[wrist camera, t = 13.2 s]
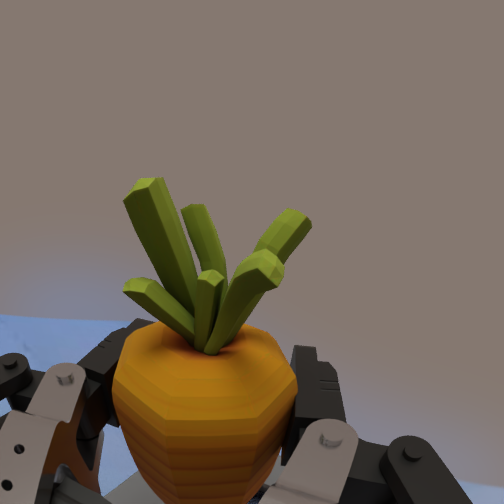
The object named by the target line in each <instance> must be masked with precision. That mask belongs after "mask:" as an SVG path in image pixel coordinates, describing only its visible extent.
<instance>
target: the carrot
mask: <svg viewBox="0 0 504 504" xmlns="http://www.w3.org/2000/svg"><path fill="white" fill-rule="evenodd" d="M123 202H124V204H125V207H126V209H127V212H128V214H129V217H130V219H131V221H132V224H133V227H134V229H135V231H136V233H137V235H138V237H139V239H140V241H141V243H142V245H143V247H144V249H145V251H146V252H147V255H148V257H149V258H150V260H151V262H152V264H153V266H154V268H155V270H156V272H157V274H158V276H159V278H160V280H161V282H162V284H163V286H164V288H165V289H164V288H163V287H162V286H161V285H160V284H159V283H158V282H157V281H155V280H152V279H148V278H144V277H141V278H132V279H130V280H128V281H127V282H126V283H125V285H124V288H123V292H124V293H125V294H126V295H127V296H128V297H130V298H131V299H132V300H133V301H135V302H136V303H137V304H138V305H140V306H141V307H142V308H144V309H145V310H146V311H147V312H149V313H150V314H151V315H152V316H154V317H155V318H157V319H158V320H159V321H158V322H156V323H153V324H151V325H148V326H145V327H143V328H140V329H137V330H135V331H134V332H133V333H132V334H130V335H129V336H128V337H127V338H126V340H125V343H124V346H123V349H122V352H121V355H120V358H119V361H118V364H117V368H116V371H115V374H114V378H113V385H112V397H113V404H114V407H115V410H116V413H117V417H118V420H119V423H120V426H121V429H122V432H123V435H124V437H125V440H126V443H127V446H128V448H129V450H130V453H131V455H132V457H133V459H134V462H135V464H136V466H137V468H138V470H139V472H140V474H141V476H142V478H143V479H144V480H145V482H146V483H147V484H148V485H149V487H150V488H151V489H152V490H153V492H154V493H155V494H156V495H157V496H158V497H159V498H160V499H161V500H162V501H163V502H164V503H165V504H247V503H248V502H249V501H250V500H251V499H252V497H253V496H254V495H255V494H256V493H257V492H258V490H259V489H260V488H261V486H262V485H263V484H264V482H265V481H266V479H267V478H268V477H269V475H270V474H271V472H272V469H273V467H274V465H275V462H276V460H277V457H278V455H279V452H280V450H281V447H282V444H283V440H284V437H285V434H286V430H287V427H288V423H289V420H290V416H291V412H292V409H293V405H294V401H295V396H296V395H297V393H298V386H297V380H296V375H295V374H294V372H293V370H292V368H291V367H290V365H289V363H288V361H287V360H286V358H285V356H284V354H283V353H282V351H281V349H280V347H279V345H278V343H277V342H276V340H275V339H274V338H273V337H272V336H271V335H270V334H269V333H268V332H265V331H263V330H260V329H257V328H255V327H252V326H249V325H247V324H244V323H245V321H246V320H247V318H248V316H249V315H250V314H251V312H252V311H253V309H254V308H255V306H256V305H257V303H258V302H259V300H260V299H261V297H262V296H263V294H264V293H265V292H266V291H269V290H272V289H274V288H277V287H278V286H279V284H280V282H281V281H282V279H283V277H284V269H285V267H284V263H285V262H286V260H287V259H288V257H289V256H290V255H291V253H292V252H293V251H294V250H295V249H296V247H297V246H298V245H299V244H300V242H301V241H302V240H303V239H304V237H305V236H306V235H307V233H308V232H309V230H310V229H311V228H312V224H311V221H310V220H309V218H308V217H307V216H305V215H304V214H302V213H301V212H299V211H297V210H293V209H289V208H287V209H286V210H285V211H284V212H283V213H282V214H281V215H279V217H277V218H276V219H275V220H274V221H273V223H272V224H271V225H270V227H269V228H268V229H267V231H266V232H265V233H264V234H263V236H262V237H261V238H260V239H259V241H258V243H257V245H256V247H255V249H254V251H253V253H252V254H251V255H250V256H248V257H247V258H246V259H244V260H243V261H242V262H241V263H240V265H239V266H238V267H237V269H236V271H235V273H234V275H233V277H232V279H231V281H230V283H229V286H228V280H227V271H226V262H225V257H224V254H223V251H222V247H221V244H220V241H219V238H218V234H217V231H216V229H215V226H214V225H213V222H212V220H211V218H210V215H209V213H208V211H207V208H206V206H205V205H204V204H190V205H189V206H187V207H185V208H183V209H181V213H182V216H183V219H184V222H185V225H186V228H187V231H188V234H189V237H190V239H191V242H192V244H193V247H194V249H195V252H196V254H197V257H198V259H199V261H200V266H201V270H202V272H201V274H200V276H199V277H198V276H197V272H196V268H195V265H194V261H193V258H192V254H191V251H190V248H189V245H188V243H187V240H186V237H185V234H184V231H183V228H182V226H181V222H180V219H179V217H178V214H177V211H176V208H175V206H174V204H173V201H172V199H171V196H170V194H169V191H168V189H167V187H166V184H165V181H164V179H163V177H161V178H142V179H139V180H138V181H137V183H136V184H135V185H134V186H133V188H132V189H131V190H130V192H129V193H128V195H127V196H126V197H125V198H124V200H123Z"/></svg>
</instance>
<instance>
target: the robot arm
mask: <svg viewBox="0 0 504 504" xmlns="http://www.w3.org/2000/svg"><path fill="white" fill-rule="evenodd" d="M153 323H156V322H153V321H148V320H144V319H139V318H137V319H135V320H134V321H133V322H132V323H131V324H130V325H129V326H128V327H127V328H121V329H119V330H116V331H114V332H112V333H111V334H109V335H108V336H107V337H106V338H105V339H104V341H101V342H100V343H99V344H98V346H96V347H95V348H94V349H92V350H91V351H90V352H89V353H88V354H87V355H86V356H85V357H84V358H82V359H81V360H80V361H79V362H78V363H77V364H73V363H60V364H56V365H54V366H52V367H51V368H49V369H48V370H47V372H41V371H36V370H31V369H30V366H29V363H28V360H27V358H26V357H25V356H24V355H22V354H19V353H8V354H5V355H3V356H1V357H0V401H1V400H3V399H4V398H7V401H8V403H9V405H10V407H11V409H12V411H10V412H9V413H7V414H5V415H3V416H2V417H0V504H112V503H111V502H109V501H108V500H107V499H105V498H104V497H103V496H101V491H100V487H99V483H98V473H99V466H100V459H101V453H102V447H103V441H104V431H103V427H104V426H105V425H106V423H107V424H110V425H112V426H115V427H117V428H118V427H119V426H120V423H119V420H118V417H117V413H116V410H115V407H114V404H113V397H112V385H113V378H114V374H115V371H116V368H117V364H118V361H119V358H120V355H121V352H122V349H123V346H124V343H125V340H126V338H127V337H128V336H129V335H130V334H132V333H133V332H134V331H135V330H137V329H140V328H143V327H145V326H148V325H151V324H153ZM290 367H291V368H292V370H293V372H294V374H295V375H296V380H297V386H298V393H297V395H296V396H295V401H294V405H293V409H292V412H291V416H290V420H289V423H288V427H287V430H286V434H285V437H284V440H283V444H282V453H281V466H285V468H284V470H283V471H282V473H281V475H280V476H279V478H278V480H277V481H276V482H275V484H272V485H271V486H270V487H269V488H268V490H267V491H266V493H265V494H264V495H263V497H262V498H261V500H260V501H259V503H258V504H473V503H472V502H471V500H470V499H469V498H468V496H467V495H466V493H465V492H464V490H463V489H462V488H461V486H460V485H459V483H458V482H457V481H456V479H455V478H454V476H453V475H452V474H451V472H450V471H449V469H448V468H447V467H446V465H445V464H444V463H443V461H442V460H441V458H440V457H439V456H438V454H437V453H436V452H435V450H434V449H433V448H432V446H431V445H430V444H429V443H428V442H427V441H425V440H424V439H421V438H419V437H416V436H402V437H399V438H397V439H395V440H393V441H392V442H391V444H390V445H389V446H384V445H379V444H375V443H370V442H366V441H364V440H362V439H360V438H358V435H357V433H356V431H355V430H354V429H353V428H352V427H351V426H350V425H349V424H347V423H346V418H345V412H344V407H343V401H342V396H341V392H340V387H339V383H338V377H337V372H336V370H335V369H334V368H333V367H332V365H331V364H330V363H329V362H322V361H317V353H316V347H310V346H299V345H294V349H293V354H292V359H291V364H290Z"/></svg>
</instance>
